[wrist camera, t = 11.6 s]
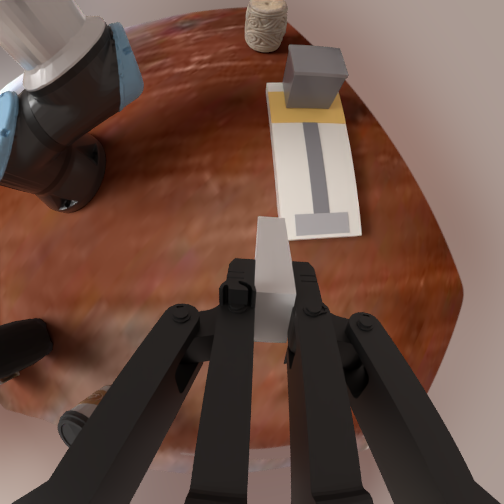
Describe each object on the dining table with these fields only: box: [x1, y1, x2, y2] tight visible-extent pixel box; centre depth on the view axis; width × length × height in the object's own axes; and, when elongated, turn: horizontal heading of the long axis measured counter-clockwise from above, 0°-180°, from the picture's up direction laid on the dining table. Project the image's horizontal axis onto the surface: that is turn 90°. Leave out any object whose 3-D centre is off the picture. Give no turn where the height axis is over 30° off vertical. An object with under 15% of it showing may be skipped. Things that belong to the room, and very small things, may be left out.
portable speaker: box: [0, 318, 53, 379], centre depth 31 cm, size 9×9×20 cm
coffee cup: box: [58, 386, 111, 447], centre depth 34 cm, size 8×8×15 cm
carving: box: [245, 0, 288, 52], centre depth 36 cm, size 6×8×12 cm
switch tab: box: [282, 45, 348, 109], centre depth 34 cm, size 5×7×10 cm
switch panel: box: [266, 83, 362, 241], centre depth 40 cm, size 26×12×3 cm, turn 4°
